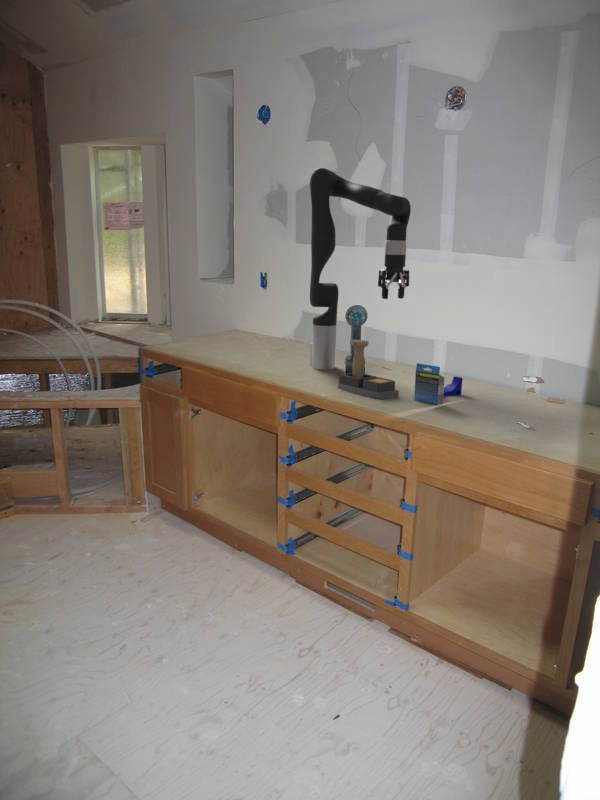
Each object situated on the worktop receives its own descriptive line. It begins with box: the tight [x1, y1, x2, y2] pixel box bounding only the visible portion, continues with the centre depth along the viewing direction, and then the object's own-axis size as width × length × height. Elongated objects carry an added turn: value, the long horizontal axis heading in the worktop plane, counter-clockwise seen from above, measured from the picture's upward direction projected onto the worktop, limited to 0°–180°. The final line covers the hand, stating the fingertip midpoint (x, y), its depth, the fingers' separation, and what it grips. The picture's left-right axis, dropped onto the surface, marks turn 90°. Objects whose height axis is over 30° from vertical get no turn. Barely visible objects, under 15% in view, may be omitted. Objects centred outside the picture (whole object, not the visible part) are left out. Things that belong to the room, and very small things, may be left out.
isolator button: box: [368, 379, 389, 383], centre depth 213 cm, size 6×6×2 cm
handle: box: [349, 339, 370, 378], centre depth 219 cm, size 5×6×15 cm
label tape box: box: [413, 362, 445, 405], centre depth 205 cm, size 9×4×12 cm, turn 48°
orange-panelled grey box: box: [337, 372, 400, 400], centre depth 217 cm, size 20×9×5 cm, turn 40°
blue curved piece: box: [444, 375, 463, 397], centre depth 216 cm, size 12×4×6 cm, turn 115°
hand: (392, 298), depth 236 cm, fingers open, 8 cm apart
